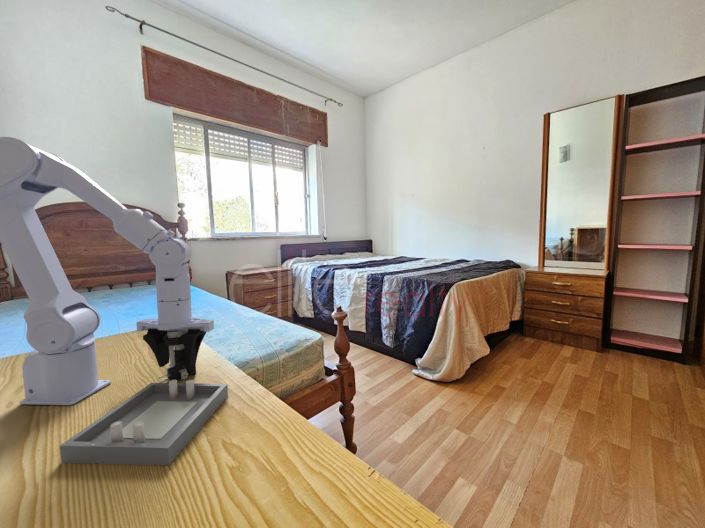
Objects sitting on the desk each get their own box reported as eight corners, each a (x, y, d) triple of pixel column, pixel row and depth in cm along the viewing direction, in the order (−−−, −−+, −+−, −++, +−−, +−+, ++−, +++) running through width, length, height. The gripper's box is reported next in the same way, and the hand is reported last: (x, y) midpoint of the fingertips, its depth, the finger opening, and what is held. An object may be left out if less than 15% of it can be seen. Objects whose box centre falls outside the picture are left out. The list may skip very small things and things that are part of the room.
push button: (164, 389, 54) (159, 337, 53) (154, 381, 57) (150, 332, 57) (201, 375, 59) (197, 328, 59) (190, 369, 63) (186, 324, 62)
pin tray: (61, 462, 36) (58, 434, 36) (152, 394, 52) (151, 374, 52) (169, 465, 36) (167, 436, 36) (227, 396, 52) (227, 375, 52)
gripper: (121, 303, 53) (126, 373, 54) (198, 303, 53) (202, 374, 54) (149, 295, 60) (153, 358, 61) (217, 296, 60) (220, 359, 61)
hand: (177, 365), depth 58 cm, fingers closed on push button, 5 cm apart
